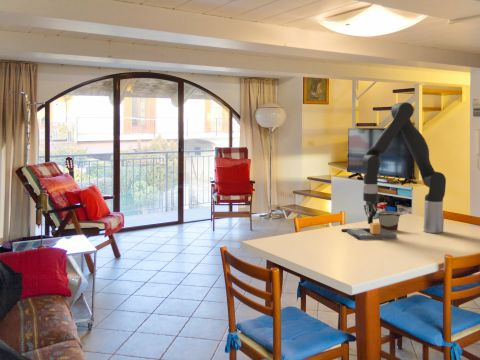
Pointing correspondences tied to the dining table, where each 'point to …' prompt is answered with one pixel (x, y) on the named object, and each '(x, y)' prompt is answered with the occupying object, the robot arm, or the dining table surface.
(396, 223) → the food container
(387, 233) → the panel
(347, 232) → the cord
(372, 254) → the dining table surface
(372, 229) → the lever
